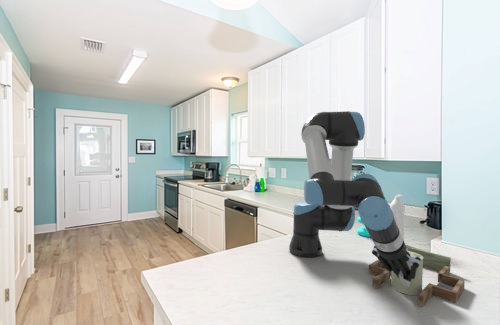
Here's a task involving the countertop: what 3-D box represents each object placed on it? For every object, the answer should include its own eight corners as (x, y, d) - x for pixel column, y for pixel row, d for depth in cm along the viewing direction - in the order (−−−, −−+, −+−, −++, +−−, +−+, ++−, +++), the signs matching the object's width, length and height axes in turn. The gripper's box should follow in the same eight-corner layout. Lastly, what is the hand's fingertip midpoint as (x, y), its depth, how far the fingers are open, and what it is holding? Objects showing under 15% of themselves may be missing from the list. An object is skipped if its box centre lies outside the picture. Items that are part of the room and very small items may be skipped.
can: (428, 296, 81) (429, 259, 81) (397, 293, 83) (398, 257, 82) (414, 282, 90) (415, 249, 90) (386, 280, 92) (387, 247, 92)
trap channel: (447, 316, 71) (448, 295, 71) (356, 280, 91) (356, 264, 91) (470, 278, 94) (471, 262, 94) (393, 256, 114) (393, 243, 114)
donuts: (366, 220, 140) (353, 216, 150) (366, 238, 140) (353, 233, 150) (380, 219, 143) (367, 215, 153) (380, 236, 144) (366, 231, 153)
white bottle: (401, 246, 127) (402, 197, 127) (387, 243, 132) (388, 195, 131) (406, 242, 133) (407, 195, 133) (392, 239, 138) (394, 194, 138)
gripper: (360, 246, 74) (382, 285, 85) (411, 260, 64) (428, 303, 75) (369, 225, 78) (389, 265, 89) (418, 235, 68) (434, 280, 79)
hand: (407, 282), depth 82 cm, fingers closed
